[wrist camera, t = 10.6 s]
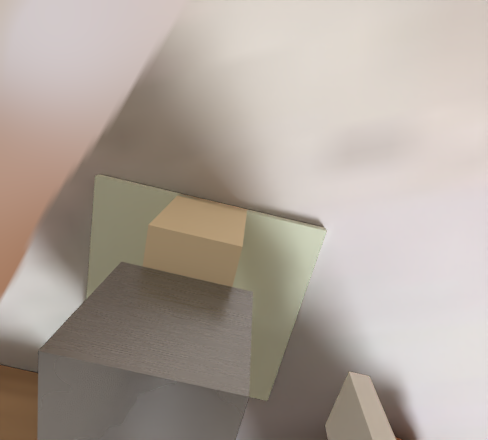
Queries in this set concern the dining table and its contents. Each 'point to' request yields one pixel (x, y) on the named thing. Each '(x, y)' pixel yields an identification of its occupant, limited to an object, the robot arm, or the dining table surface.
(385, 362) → the dining table surface
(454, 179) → the dining table surface
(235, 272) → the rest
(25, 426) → the wooden peg board
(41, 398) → the lever cap
